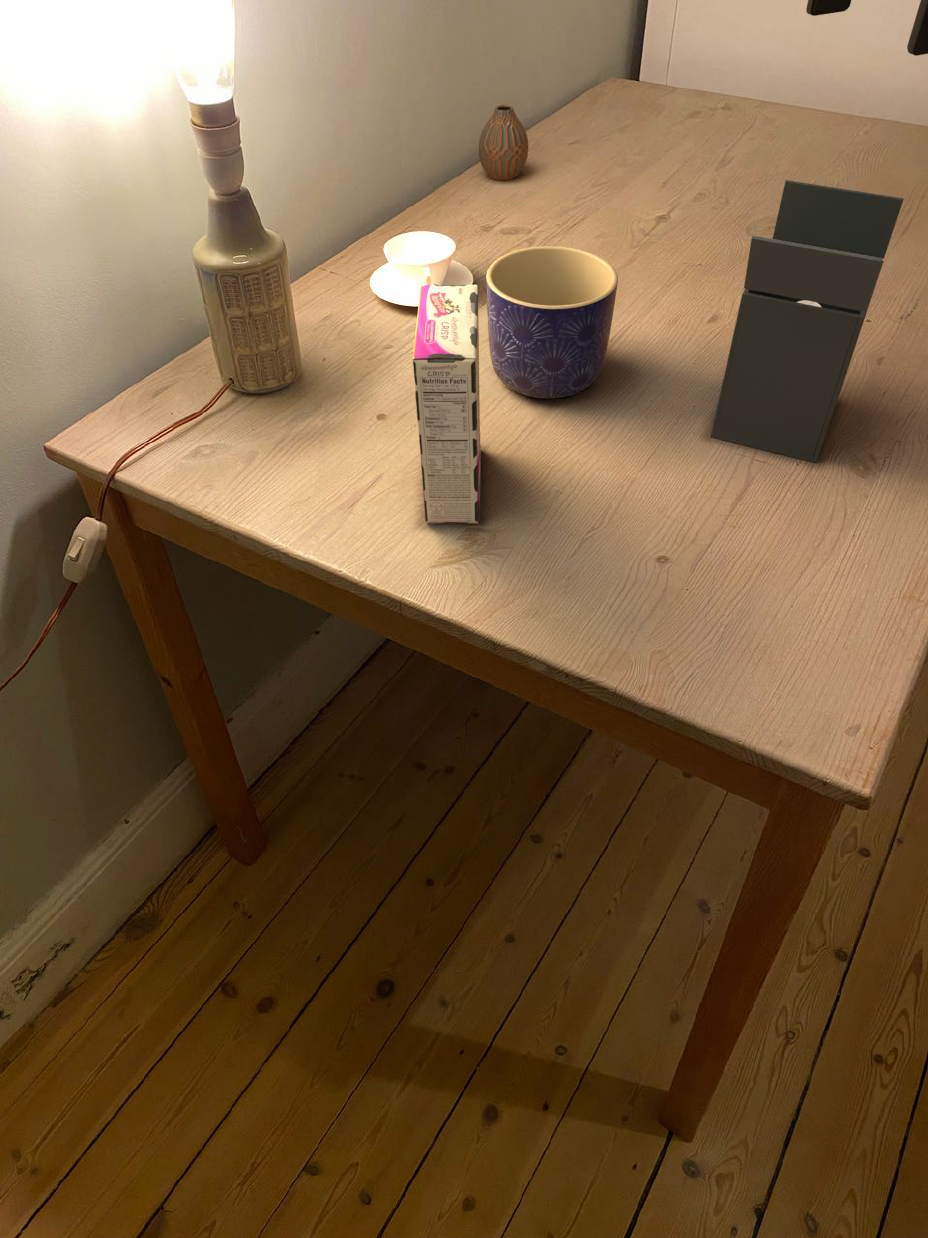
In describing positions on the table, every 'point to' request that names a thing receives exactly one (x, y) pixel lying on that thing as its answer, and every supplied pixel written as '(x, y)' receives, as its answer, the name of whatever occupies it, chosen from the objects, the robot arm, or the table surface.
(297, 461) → the table surface
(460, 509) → the candy bar box
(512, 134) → the vase
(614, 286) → the planter
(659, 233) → the table surface
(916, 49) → the robot arm
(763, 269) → the panel
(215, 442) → the table surface
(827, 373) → the chute
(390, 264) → the teacup
